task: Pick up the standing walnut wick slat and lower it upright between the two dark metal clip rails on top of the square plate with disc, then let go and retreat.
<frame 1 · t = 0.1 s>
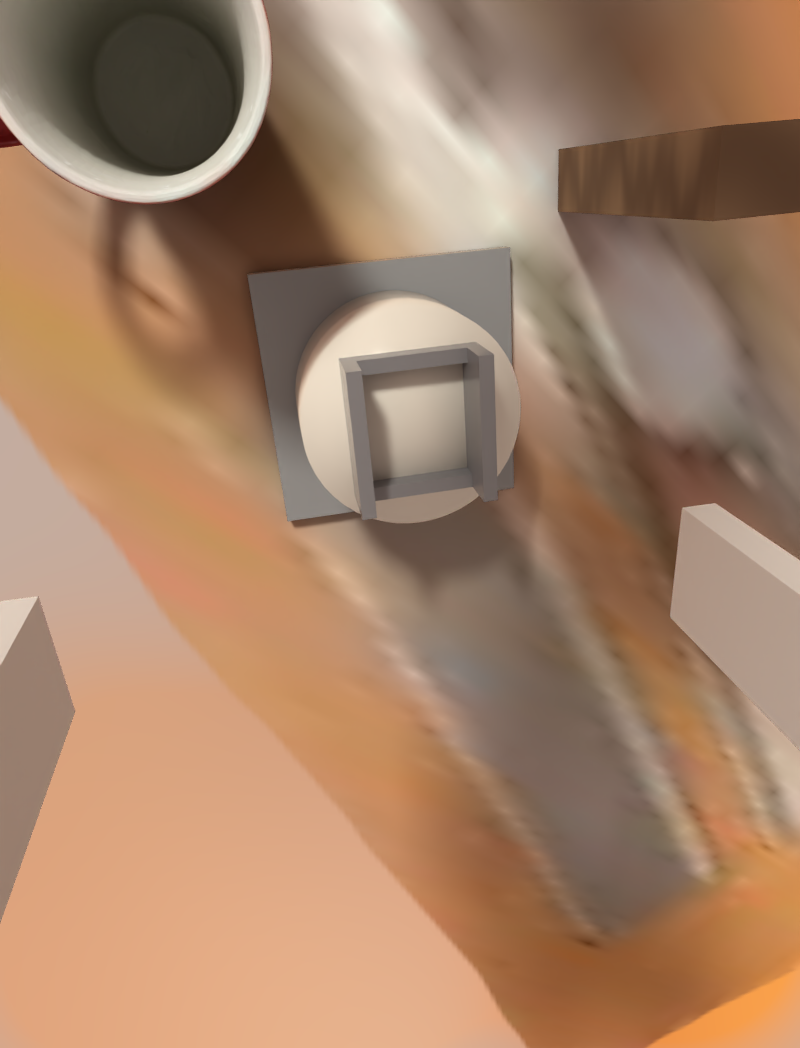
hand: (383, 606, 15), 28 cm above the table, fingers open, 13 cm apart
wick: (593, 177, 39), on the table
square plate with disc: (390, 388, 42), on the table
mug: (132, 104, 34), on the table
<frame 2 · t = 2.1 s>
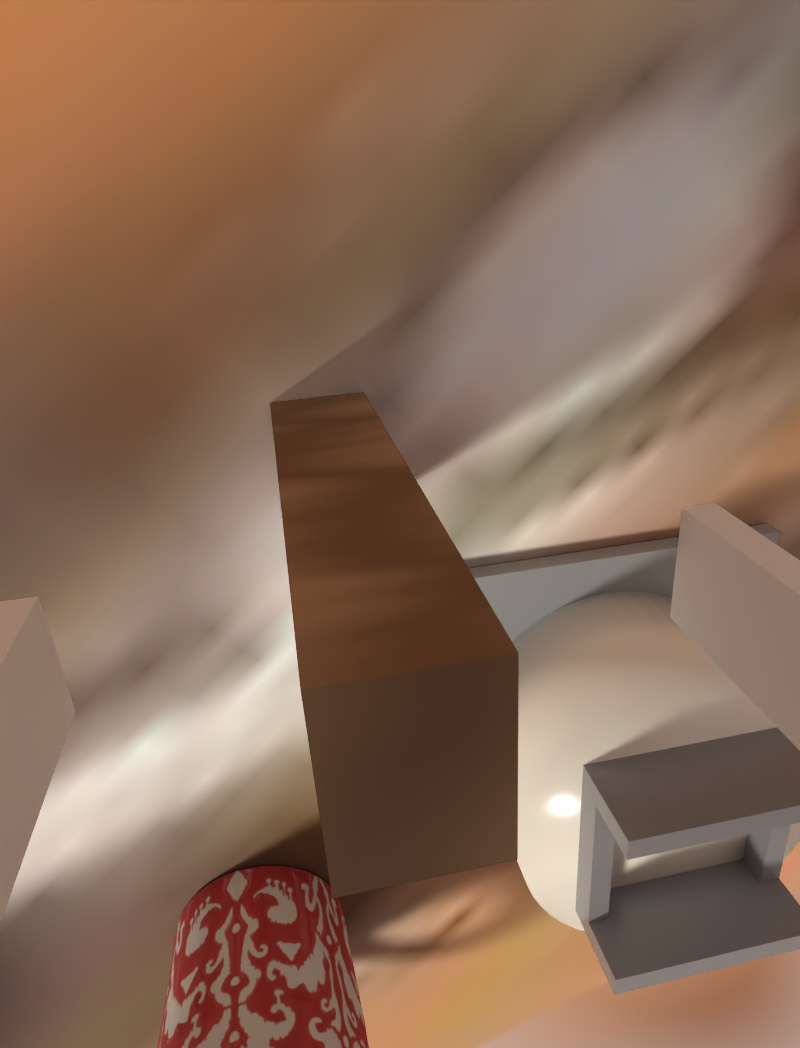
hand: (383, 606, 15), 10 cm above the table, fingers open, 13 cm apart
wick: (324, 456, 24), on the table
square plate with disc: (591, 696, 31), on the table
mug: (269, 943, 33), on the table
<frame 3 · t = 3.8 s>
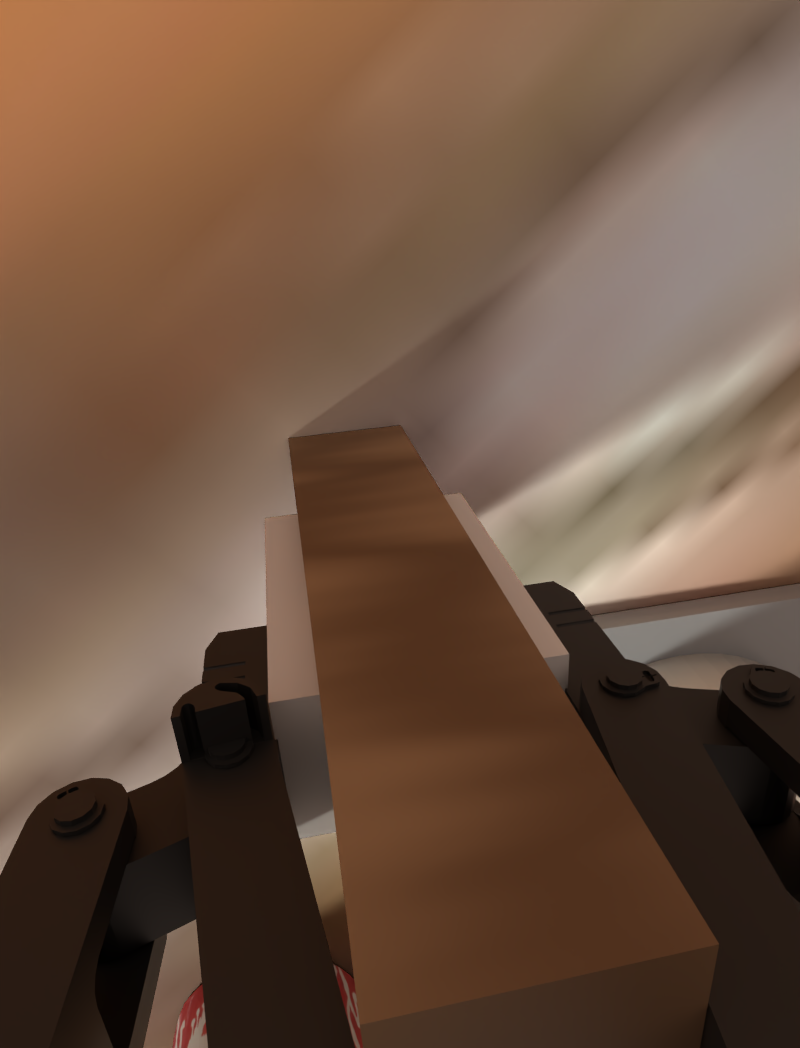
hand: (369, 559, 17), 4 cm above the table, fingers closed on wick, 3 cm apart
wick: (351, 500, 20), on the table, touching gripper
square plate with disc: (653, 767, 26), on the table
mug: (281, 1035, 29), on the table
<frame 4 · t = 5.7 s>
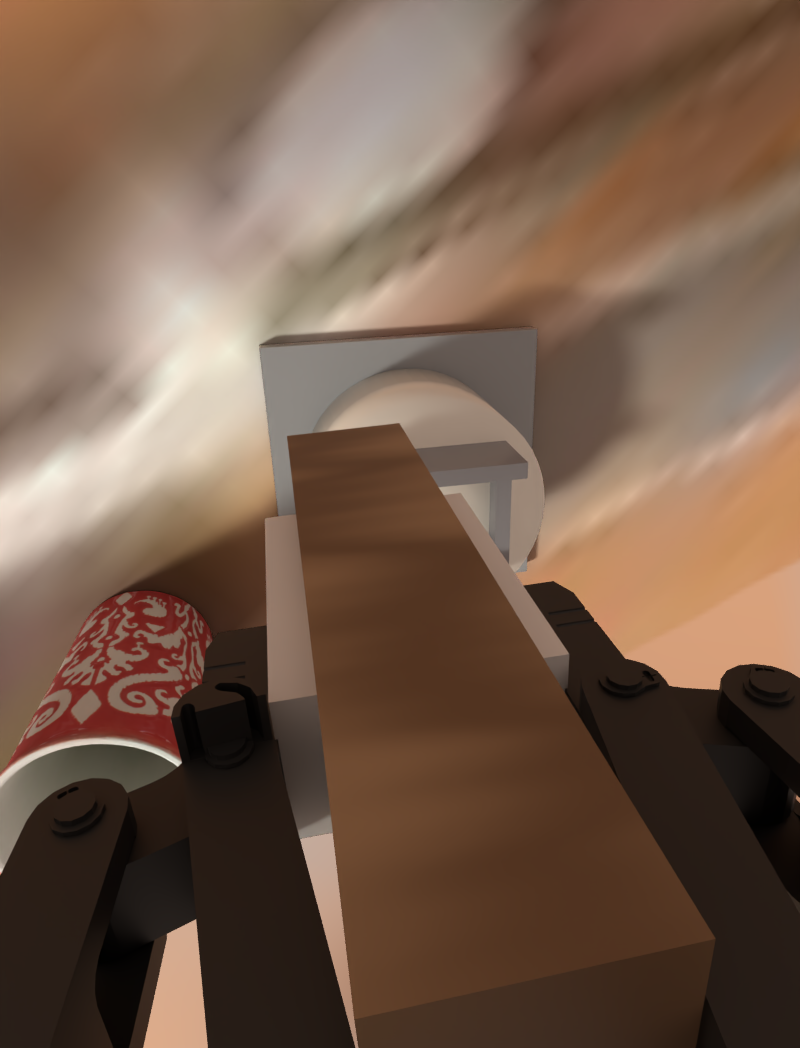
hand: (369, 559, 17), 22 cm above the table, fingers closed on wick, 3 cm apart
wick: (350, 498, 20), point 18 cm above the table, touching gripper
square plate with disc: (403, 466, 40), on the table
mug: (155, 666, 42), on the table
when the fingers open (12 cm above the table, at t = 7.9 s): wick drops 2 cm, resting on square plate with disc.
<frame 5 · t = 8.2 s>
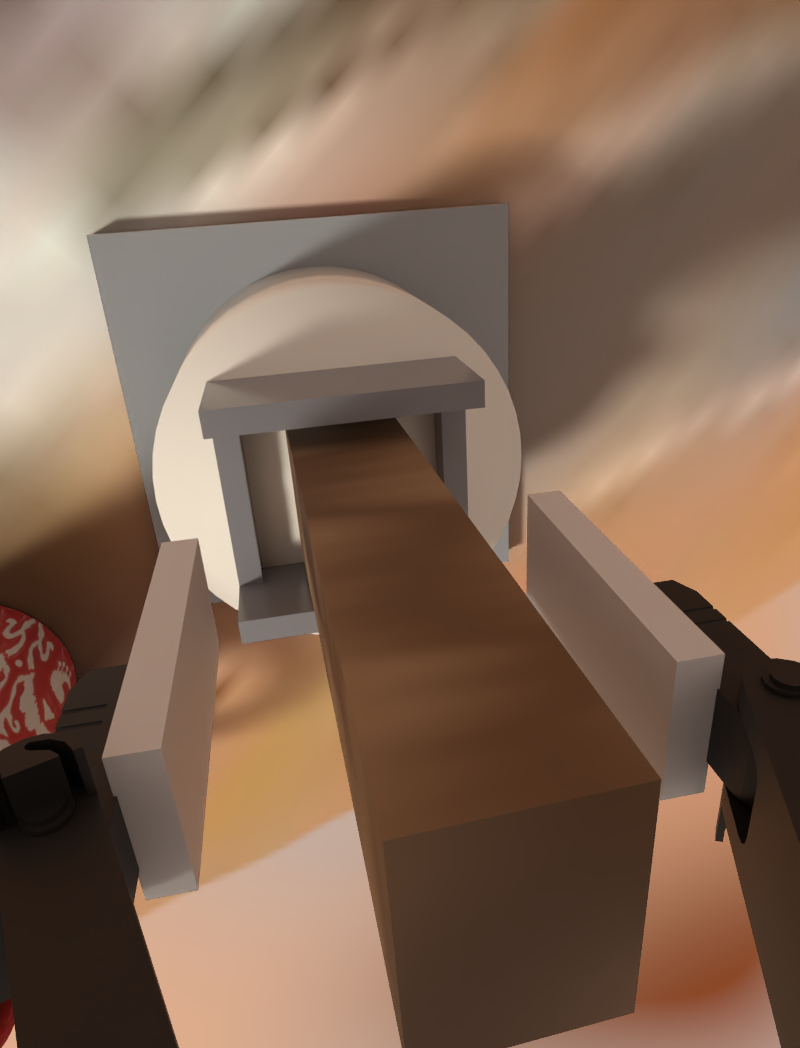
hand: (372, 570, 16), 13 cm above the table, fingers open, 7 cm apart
wick: (343, 478, 22), point 7 cm above the table, touching square plate with disc
square plate with disc: (326, 415, 28), on the table
mug: (0, 705, 31), on the table
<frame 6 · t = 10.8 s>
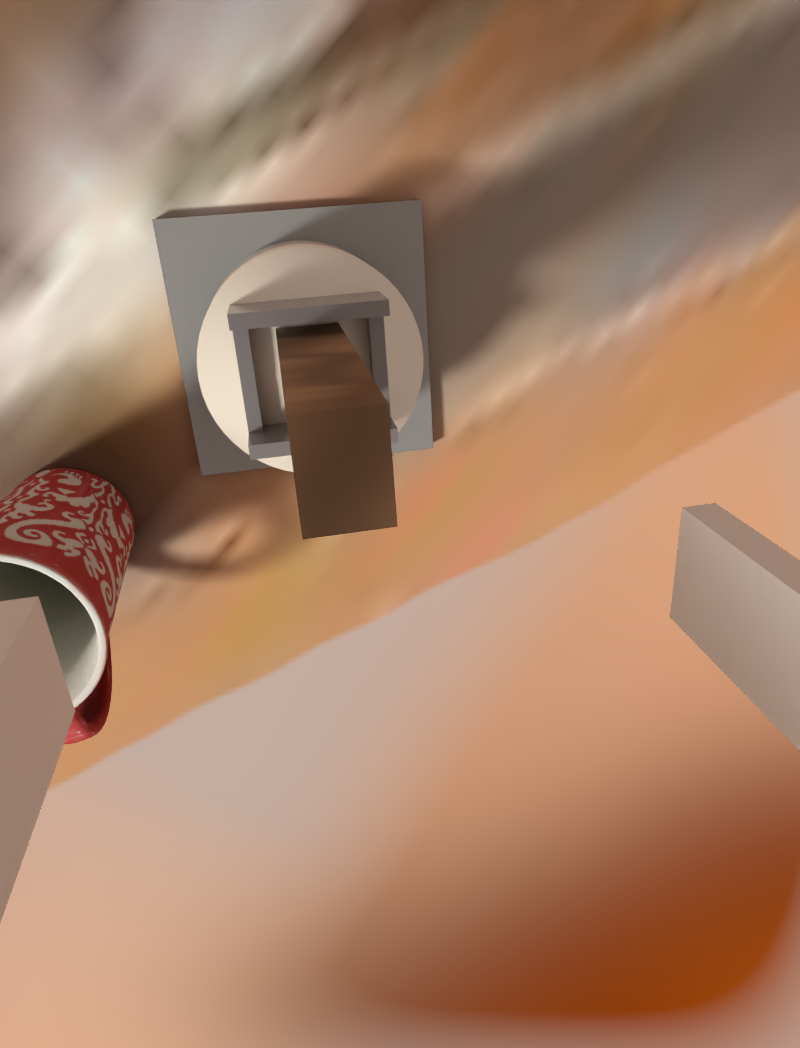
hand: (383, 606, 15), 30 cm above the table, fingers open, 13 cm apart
wick: (311, 367, 35), point 7 cm above the table, touching square plate with disc
square plate with disc: (305, 342, 41), on the table
mug: (81, 546, 44), on the table
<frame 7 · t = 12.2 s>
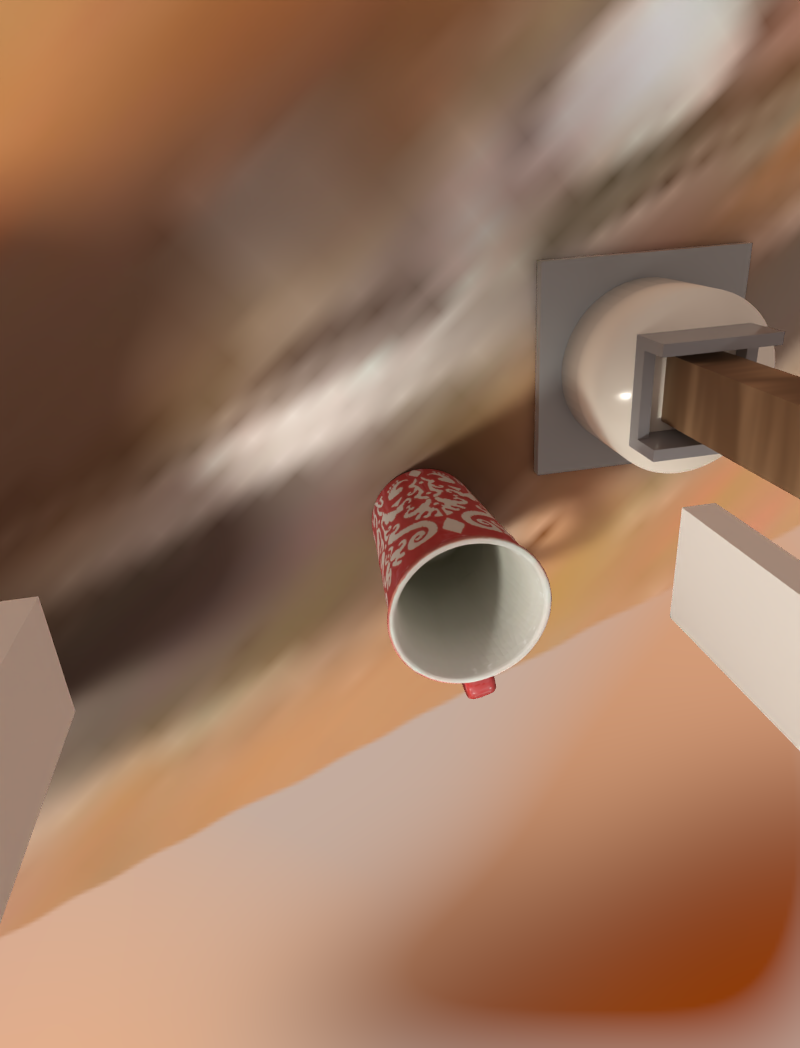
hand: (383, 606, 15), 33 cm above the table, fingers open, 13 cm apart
wick: (687, 385, 43), point 7 cm above the table, touching square plate with disc
square plate with disc: (635, 361, 49), on the table
mug: (424, 536, 52), on the table
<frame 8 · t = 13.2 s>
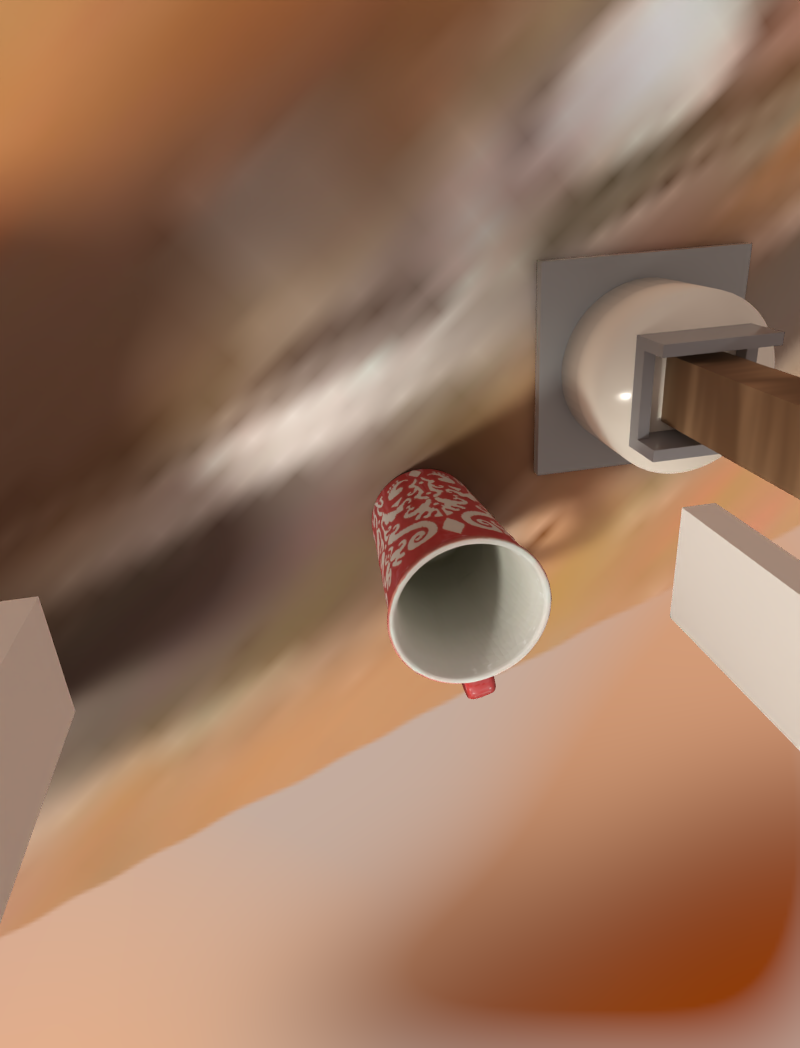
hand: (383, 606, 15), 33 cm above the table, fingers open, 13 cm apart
wick: (687, 385, 43), point 7 cm above the table, touching square plate with disc
square plate with disc: (634, 361, 49), on the table
mug: (424, 536, 52), on the table
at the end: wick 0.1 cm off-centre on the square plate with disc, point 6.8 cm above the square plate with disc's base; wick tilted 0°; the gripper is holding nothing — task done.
